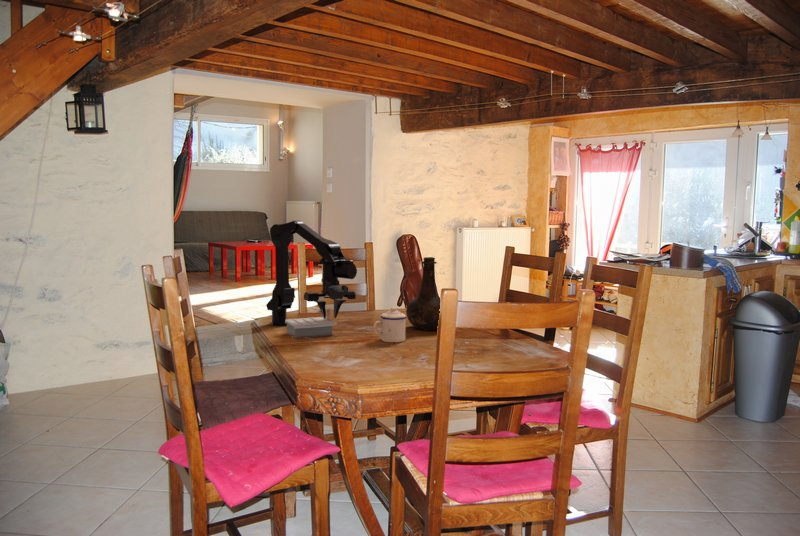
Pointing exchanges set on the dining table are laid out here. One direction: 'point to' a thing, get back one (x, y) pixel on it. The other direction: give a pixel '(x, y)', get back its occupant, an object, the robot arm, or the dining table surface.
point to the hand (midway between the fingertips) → (329, 318)
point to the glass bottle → (425, 300)
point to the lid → (314, 321)
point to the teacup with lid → (392, 326)
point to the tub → (309, 331)
